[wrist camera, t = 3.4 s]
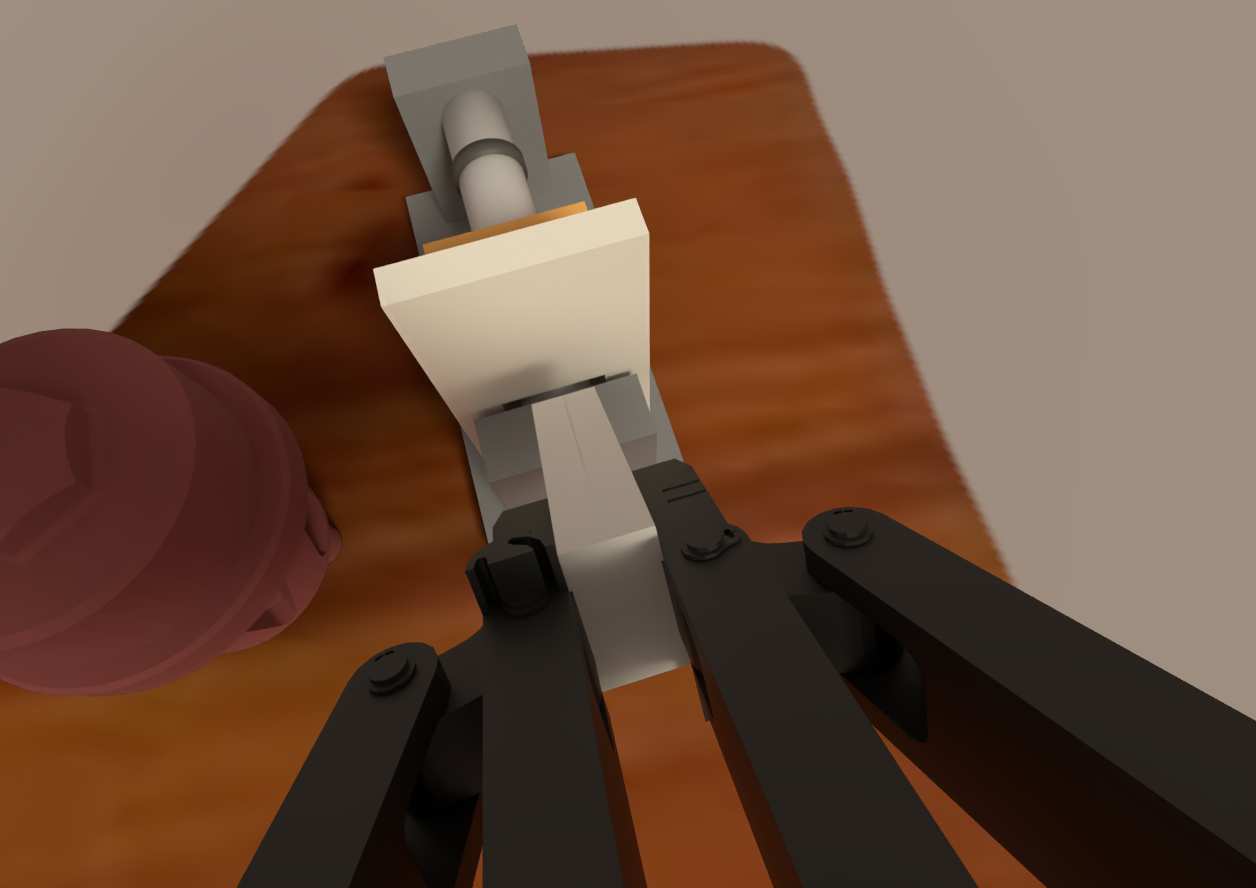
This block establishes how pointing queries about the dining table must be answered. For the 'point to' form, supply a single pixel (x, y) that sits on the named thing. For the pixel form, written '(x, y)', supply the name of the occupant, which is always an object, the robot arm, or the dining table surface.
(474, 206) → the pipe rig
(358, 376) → the dining table surface
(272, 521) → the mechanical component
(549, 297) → the sleeve
